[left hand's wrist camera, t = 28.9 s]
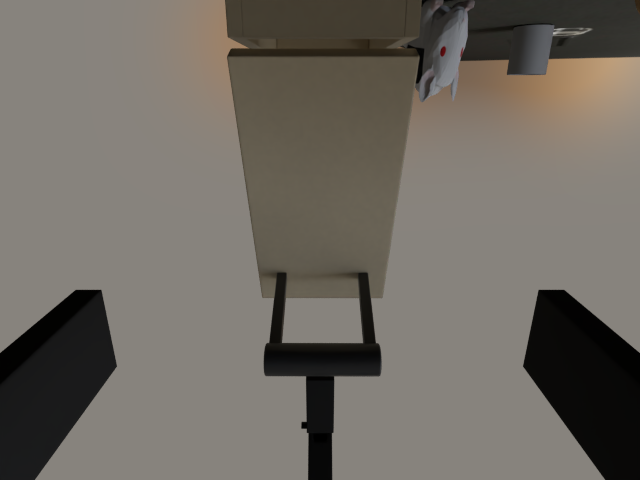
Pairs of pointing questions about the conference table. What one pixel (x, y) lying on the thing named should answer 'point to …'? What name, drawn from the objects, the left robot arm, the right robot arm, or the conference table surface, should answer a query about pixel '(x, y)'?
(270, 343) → the lid
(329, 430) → the right robot arm
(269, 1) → the chest
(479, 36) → the conference table surface
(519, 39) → the cup
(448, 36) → the toy
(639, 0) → the potato
